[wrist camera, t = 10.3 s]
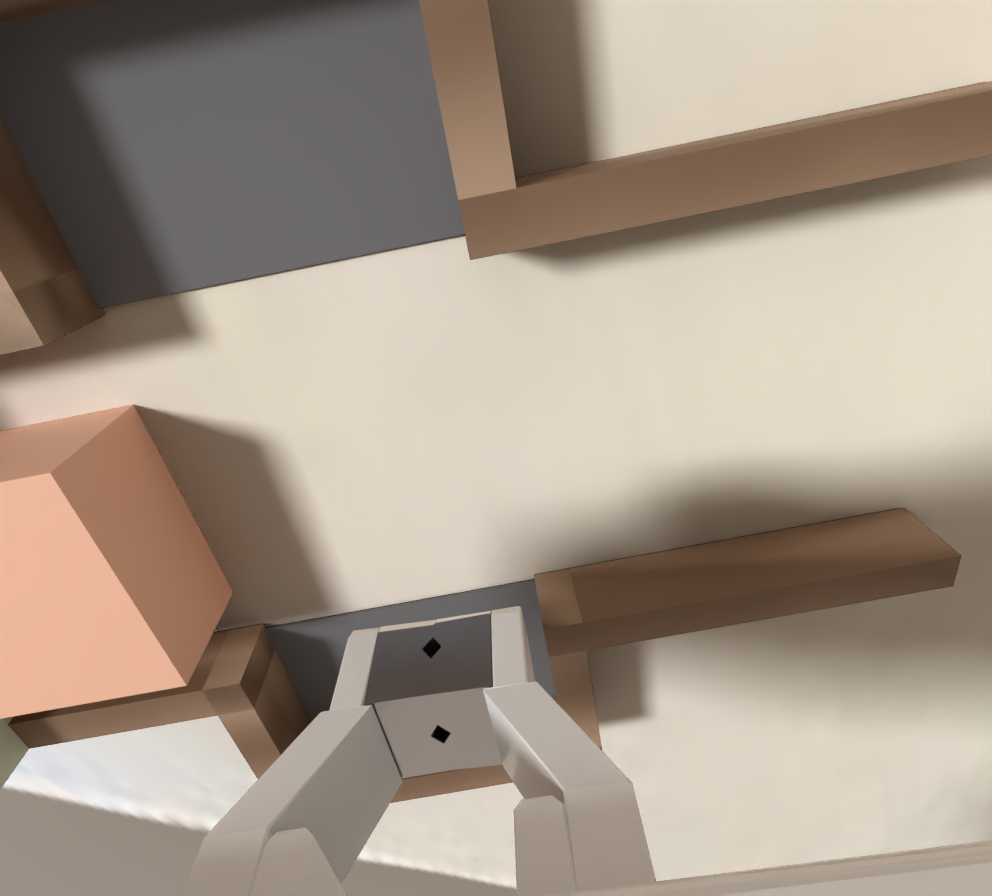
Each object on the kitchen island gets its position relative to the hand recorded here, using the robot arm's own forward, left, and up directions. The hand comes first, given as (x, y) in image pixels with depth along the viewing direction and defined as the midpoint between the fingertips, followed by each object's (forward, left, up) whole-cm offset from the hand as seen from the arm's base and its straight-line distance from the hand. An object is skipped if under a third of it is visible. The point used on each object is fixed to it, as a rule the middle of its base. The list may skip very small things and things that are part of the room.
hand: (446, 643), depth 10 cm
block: (-1, +12, -8) cm, 14 cm away
